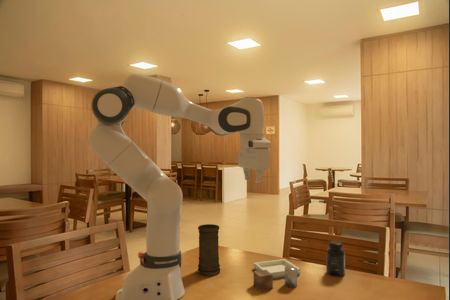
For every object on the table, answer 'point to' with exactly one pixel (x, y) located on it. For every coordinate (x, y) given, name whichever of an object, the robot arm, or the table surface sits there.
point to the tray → (275, 267)
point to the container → (208, 250)
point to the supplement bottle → (335, 259)
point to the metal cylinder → (290, 276)
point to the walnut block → (263, 280)
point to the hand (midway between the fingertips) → (252, 181)
